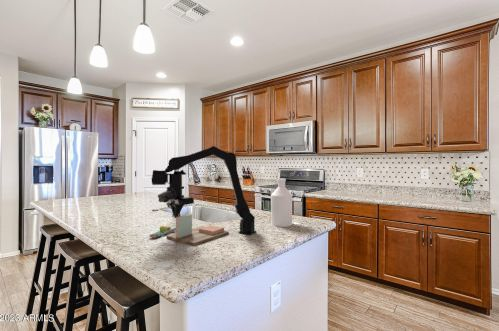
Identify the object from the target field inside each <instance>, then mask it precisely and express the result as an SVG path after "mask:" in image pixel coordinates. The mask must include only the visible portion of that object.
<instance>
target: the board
mask: <svg viewBox="0 0 499 331" xmlns="http://www.w3.org/2000/svg"><path fill="white" fill-rule="evenodd" d="M203 227H205V226H198V227H195V228H192V234H190V235H186V236H183V237H180V238H177V237H176V232H174V234H173V233H171V234H169V235H168V234H167V235H166V239H167V240H170V241H174V242H177V243H183V244H186V245H190V246H198V245H201V244H203V243H206V242H209V241H213V240H214V239H217V238H221V237H224V236H227V235H229V233H230V232H229V231H228V230H224V231H223V232H220V233H217V234H214V235H210V234H206V233H201V232H199V228H203Z"/></svg>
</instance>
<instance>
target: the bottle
mask: <svg viewBox="0 0 499 331" xmlns="http://www.w3.org/2000/svg"><path fill="white" fill-rule="evenodd" d="M286 180H287V178H277V187H276V189H274V191H273V192H272V193H270V220H271V223H270V224H271V225H272V226H274V227H280V228H282V227H284V228H285V227H286V228H287V227H291V226H292V225H293V194H292V193H291V192H290V191H289V190H288V189H287V187H286Z"/></svg>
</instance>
